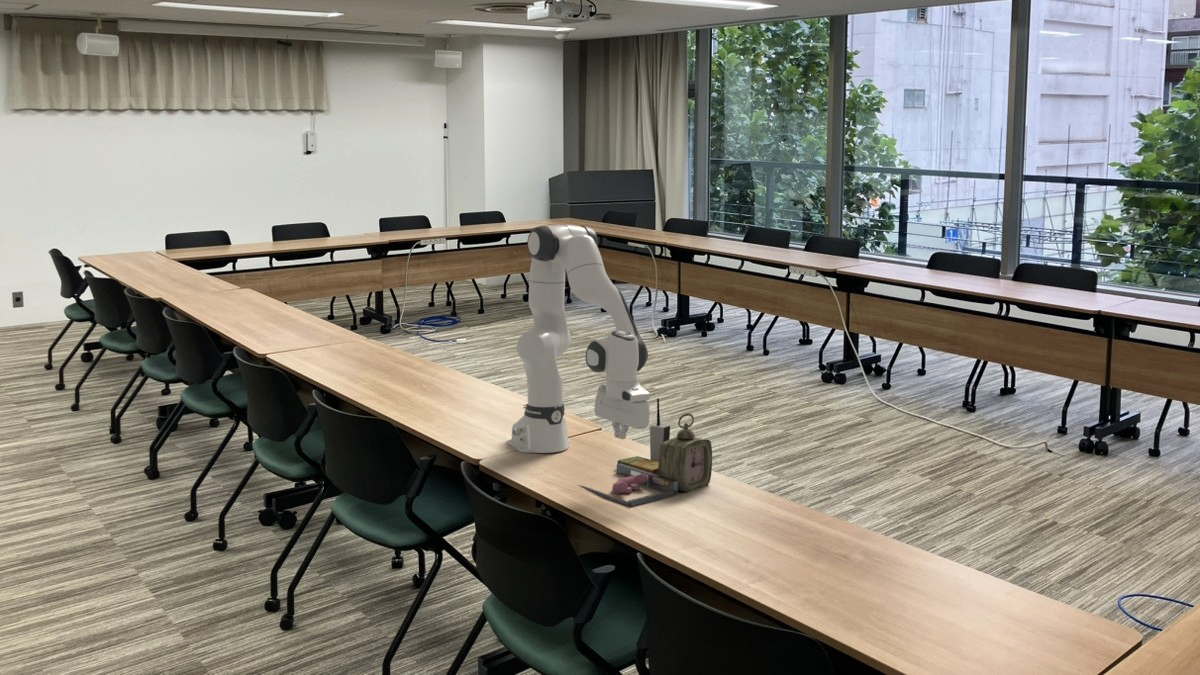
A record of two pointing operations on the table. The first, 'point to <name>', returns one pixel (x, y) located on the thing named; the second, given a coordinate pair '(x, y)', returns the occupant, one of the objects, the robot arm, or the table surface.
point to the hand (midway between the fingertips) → (620, 438)
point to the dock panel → (653, 481)
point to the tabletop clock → (686, 459)
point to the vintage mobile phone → (658, 436)
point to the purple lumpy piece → (628, 484)
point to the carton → (641, 464)
